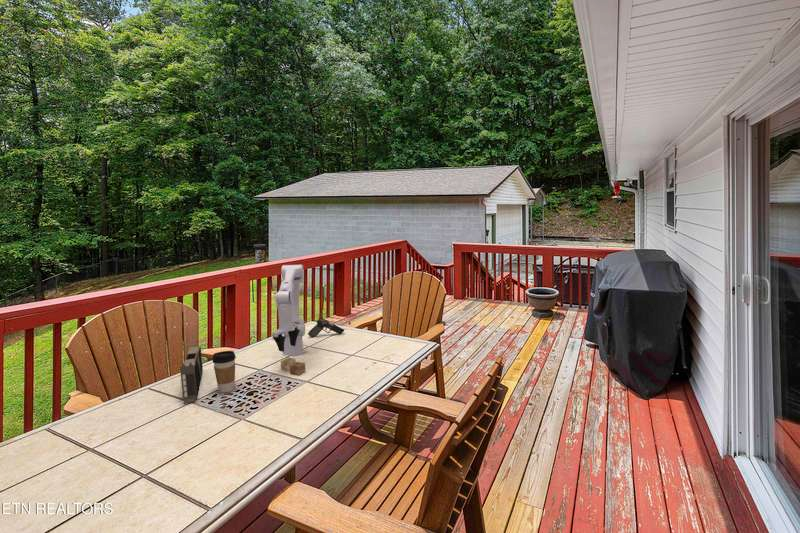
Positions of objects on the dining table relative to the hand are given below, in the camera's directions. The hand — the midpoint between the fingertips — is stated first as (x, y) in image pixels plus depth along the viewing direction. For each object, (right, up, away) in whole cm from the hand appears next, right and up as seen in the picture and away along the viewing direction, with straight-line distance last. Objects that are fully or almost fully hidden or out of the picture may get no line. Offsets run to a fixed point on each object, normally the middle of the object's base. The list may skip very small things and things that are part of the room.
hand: (287, 348), depth 178 cm
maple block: (0, -9, +1) cm, 9 cm away
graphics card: (-34, -13, -14) cm, 39 cm away
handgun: (+8, -3, +50) cm, 51 cm away
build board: (+3, -10, -3) cm, 11 cm away
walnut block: (+6, -10, -5) cm, 12 cm away
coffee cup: (-19, -13, -18) cm, 29 cm away
